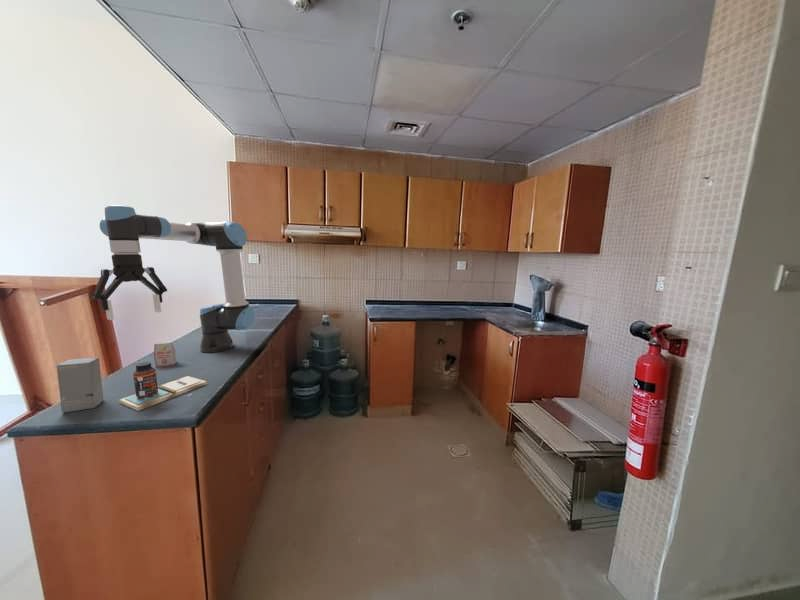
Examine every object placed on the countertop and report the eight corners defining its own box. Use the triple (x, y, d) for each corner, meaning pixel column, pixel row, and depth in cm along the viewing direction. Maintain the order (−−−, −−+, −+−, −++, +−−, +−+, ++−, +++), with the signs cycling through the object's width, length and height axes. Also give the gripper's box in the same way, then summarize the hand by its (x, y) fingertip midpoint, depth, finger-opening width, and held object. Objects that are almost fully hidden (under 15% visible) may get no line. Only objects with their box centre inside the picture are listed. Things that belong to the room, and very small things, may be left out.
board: (188, 378, 123) (187, 374, 123) (206, 384, 118) (206, 379, 117) (119, 402, 104) (118, 398, 103) (137, 410, 98) (137, 405, 98)
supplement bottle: (145, 399, 102) (141, 367, 100) (131, 398, 103) (126, 366, 102) (163, 391, 108) (158, 361, 106) (149, 390, 109) (144, 360, 107)
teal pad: (155, 388, 112) (155, 387, 111) (169, 393, 108) (169, 392, 107) (125, 399, 104) (124, 397, 104) (138, 405, 100) (138, 403, 100)
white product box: (159, 363, 140) (156, 342, 138) (176, 362, 142) (173, 341, 140) (155, 366, 136) (152, 345, 135) (173, 365, 138) (170, 343, 137)
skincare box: (61, 413, 97) (52, 366, 94) (74, 403, 103) (65, 359, 101) (96, 408, 100) (88, 362, 98) (106, 398, 107) (99, 355, 104)
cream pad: (187, 377, 121) (187, 376, 121) (201, 381, 117) (201, 380, 117) (161, 386, 113) (161, 385, 113) (175, 391, 109) (175, 389, 109)
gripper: (162, 253, 115) (169, 308, 119) (69, 254, 93) (82, 322, 97) (173, 253, 112) (180, 310, 115) (80, 254, 90) (92, 324, 93)
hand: (135, 315), depth 106 cm, fingers open, 13 cm apart
